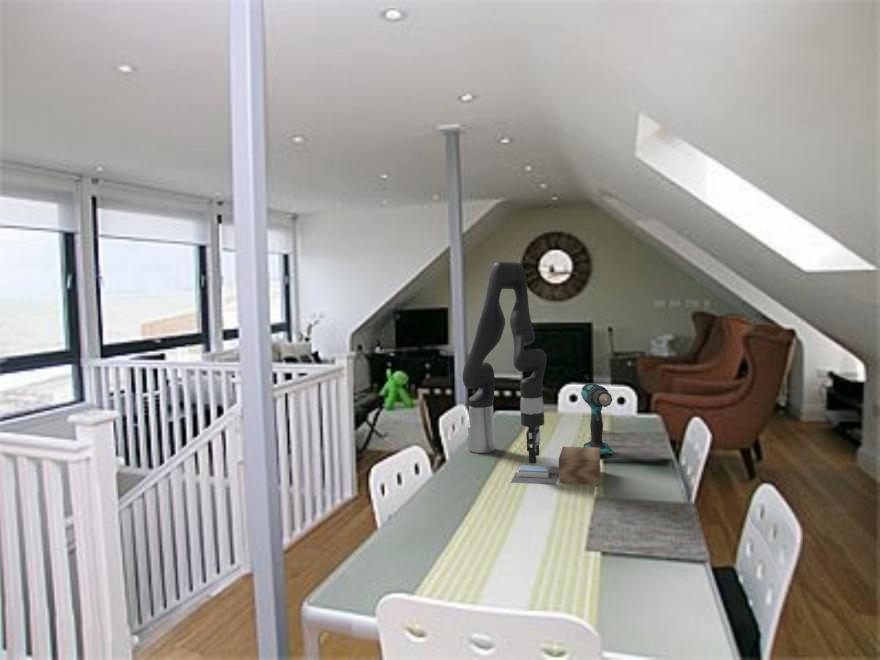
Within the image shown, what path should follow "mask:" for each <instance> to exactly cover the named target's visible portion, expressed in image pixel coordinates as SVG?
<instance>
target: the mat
mask: <svg viewBox="0 0 880 660" xmlns="http://www.w3.org/2000/svg"><path fill="white" fill-rule="evenodd" d="M521 465H522V464H519V466H518V467H517V469H516V470H515V471H516V472H515V474H514V476H513V477H512V479H511V481H510V483H514V484H515V483H516V484H535V485H550V486H551V485H553V486H554V485H555V486H556V484H557V481H558V479H559V466H552V465H551V466H550V465H547V466H548V467H549V468H550V474H549V476H548V478H540V477H518V476H517V471H518V469H519V467H520V466H521ZM526 466H529V465H526Z"/></svg>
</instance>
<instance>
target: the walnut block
mask: <svg viewBox="0 0 880 660" xmlns="http://www.w3.org/2000/svg"><path fill="white" fill-rule="evenodd" d="M558 467H559V475H558V479H559V480H558V481H559V483H560V484H575V485H577V484H580V485H595V486H597V487H599V486H600V479H601V454H600V448H592V447H584V446H562V448H561V451H560V454H559V456H558Z"/></svg>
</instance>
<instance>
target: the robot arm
mask: <svg viewBox="0 0 880 660" xmlns="http://www.w3.org/2000/svg"><path fill="white" fill-rule="evenodd" d="M502 290H513V291H514V294H515V302H514V305H513V308H512V311H511V313H510V319H509V325H510V329H511V334H512V339H513V359H512V361H513V367H514V369H516V370H517V371H518V372H522V373H525V372H532V373H531V375H530V376H528V377H525V378H523V379H521V380H520V382H519V384H520V388H519V389H520V404H519V405H520V407H519V408H520V422H521V423H520V424H521V426H524V427H527V431H526V433H525V436H526V451H527V452H528V463H529V464H537V457H539V456H540V444H541V429H540V428H541V427H542V426H544V425H545V404H544V399H543V381H544V374H545V371H546V366H547V362H548V361H547V355H546V353H545V352H544V350H543V349H542V348H530V349H525V346H528V345H530V344H533V343H534V342H535V340H536V335H535V331H534V327H533V323H532V319H531V313H530V306H529V295H528V282H527V276H526V270H525V268H524V266H523V264H522V263H520V262H515V261H512V262H511V261H496V262H495V263H494V264H493V265H492V267H491V270H490V274H489V278H488V283H487V290H486V294H485V299H484V304H483V307H482V311H481V314H480V318H479V320H478V324H477V328H476V333H475V336H474V341H473V343H472V346H471V349H470V352H469V355H468V357H467V360H466V361H465V364H464V367H463V370H462V382H463V385H464V387H466V388H467V389H471V390H472V389H473V390H474V389H477V391H476V392H475V393H474V394H473V395H471V396H470V397H469V398H468V402H467V403H468V421H469V422H468V424H469V425H468V427H467V430H468V431H467V434H468V436H467V437H468V438H467V439H468V451H469V452H472V453H475V454H476V453H477V454H484V453H485V454H486V453H491V452H494V451H495V448H496V447H495V443H496V442H495V426H494V425H495V424H494V422H495V421H494V419H495V418H494V400H495V371H494V368H493V366H492V364H491V363H489V362H484V361H485V359H486V357H488V356H489V354H490V353H491V352H492V351H493V350H494V348H496V347H497V345H498V344H499V343H500V341H501V339H502V336H503V333H504V330H505V327H506V319H505V315H504V312H503V309H502V308H501V303H500V299H501V298H500V296H501V293H502Z"/></svg>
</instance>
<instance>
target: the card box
mask: <svg viewBox="0 0 880 660" xmlns="http://www.w3.org/2000/svg"><path fill="white" fill-rule="evenodd" d="M520 465H521V466H520ZM520 465H519V466H520V467H519V466H518V467H519V469H518V468H517V469H518V471H517V470H516V471H517V476H518V477H540V478H548V476H549V474H550V468H549V467H548V466H549V465H547V466H544V465H528V466H526V465H523V464H520Z"/></svg>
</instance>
